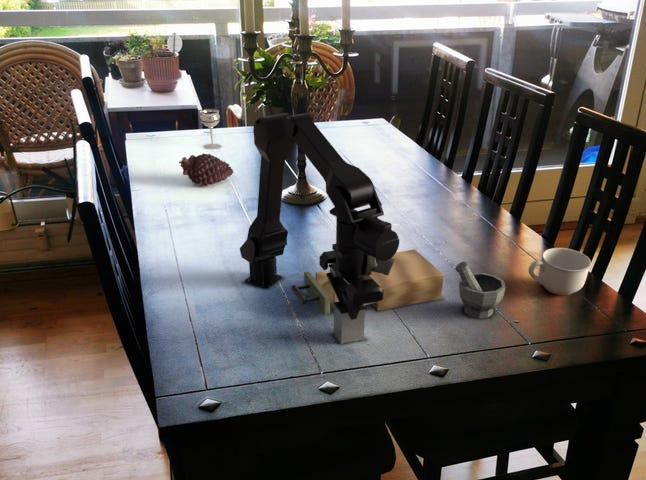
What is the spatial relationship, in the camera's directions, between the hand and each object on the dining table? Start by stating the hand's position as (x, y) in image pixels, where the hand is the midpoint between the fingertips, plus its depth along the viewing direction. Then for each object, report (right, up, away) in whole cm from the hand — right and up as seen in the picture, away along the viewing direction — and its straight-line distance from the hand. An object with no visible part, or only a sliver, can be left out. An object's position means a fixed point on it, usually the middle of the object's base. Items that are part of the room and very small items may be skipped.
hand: (349, 314), depth 146 cm
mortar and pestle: (+28, +1, +13) cm, 31 cm away
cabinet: (+11, +7, +20) cm, 24 cm away
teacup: (+47, +7, +22) cm, 53 cm away
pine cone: (-42, +45, +78) cm, 99 cm away
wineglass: (-46, +66, +110) cm, 136 cm away
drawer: (-3, +4, +15) cm, 16 cm away
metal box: (0, -5, +3) cm, 5 cm away
